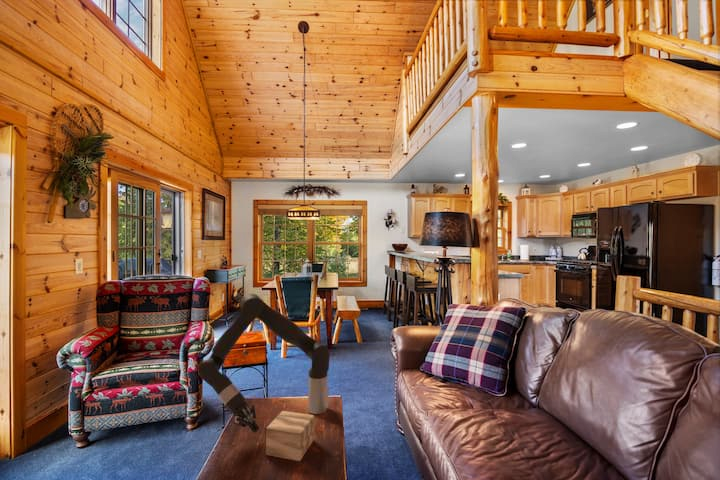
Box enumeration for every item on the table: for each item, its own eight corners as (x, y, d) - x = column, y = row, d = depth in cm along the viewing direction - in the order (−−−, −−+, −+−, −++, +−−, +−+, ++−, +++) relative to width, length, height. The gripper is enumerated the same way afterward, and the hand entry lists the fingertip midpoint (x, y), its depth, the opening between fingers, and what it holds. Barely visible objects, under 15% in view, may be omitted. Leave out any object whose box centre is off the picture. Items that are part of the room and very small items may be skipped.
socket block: (281, 434, 146) (281, 410, 146) (313, 440, 142) (313, 415, 142) (264, 454, 132) (265, 428, 132) (299, 461, 128) (300, 433, 128)
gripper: (228, 399, 136) (254, 434, 133) (246, 385, 149) (270, 417, 146) (216, 410, 137) (242, 445, 134) (235, 396, 150) (259, 427, 147)
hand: (257, 430), depth 140 cm, fingers closed
